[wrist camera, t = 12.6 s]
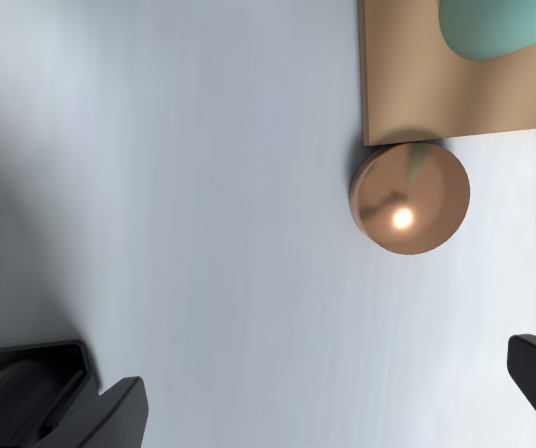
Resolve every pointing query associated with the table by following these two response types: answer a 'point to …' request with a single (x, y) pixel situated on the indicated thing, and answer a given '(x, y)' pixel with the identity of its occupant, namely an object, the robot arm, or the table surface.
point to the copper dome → (409, 197)
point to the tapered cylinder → (487, 26)
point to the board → (435, 79)
